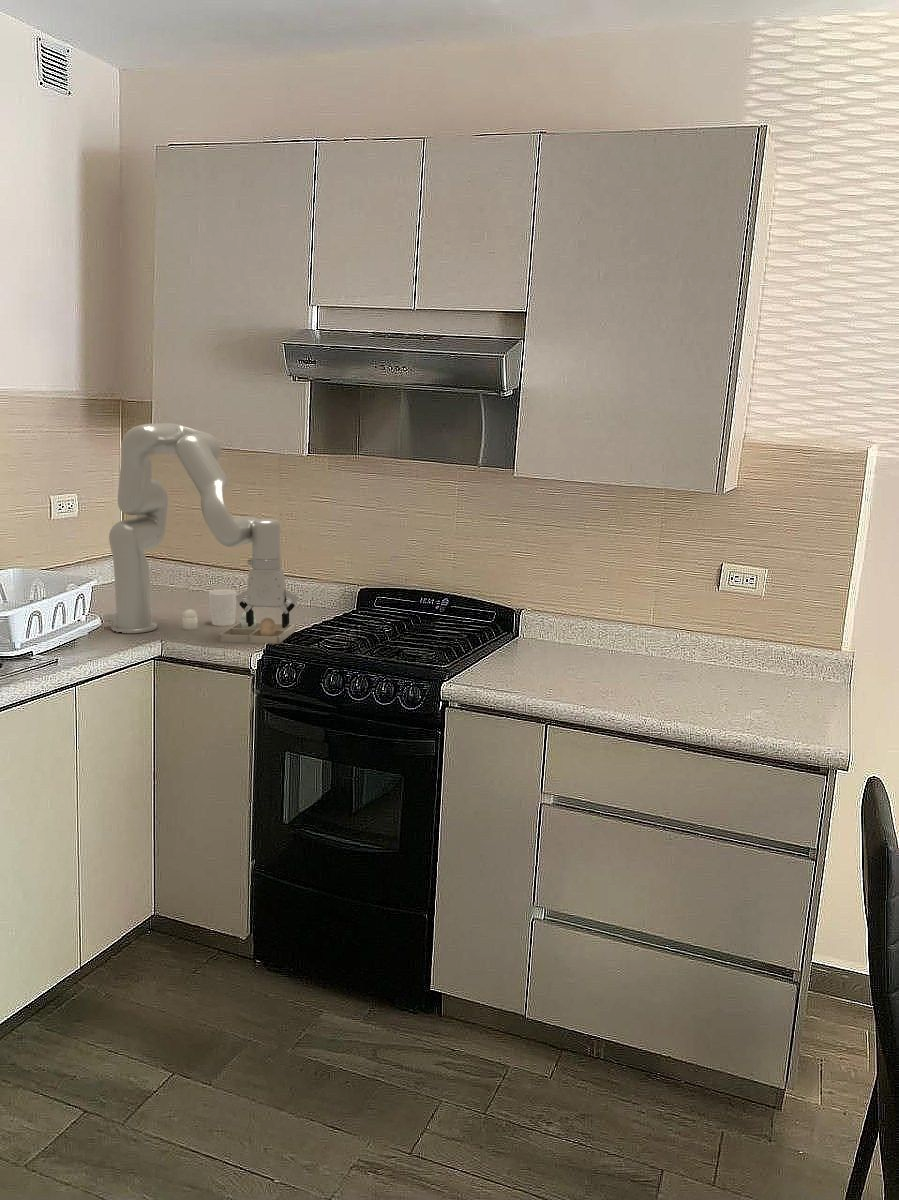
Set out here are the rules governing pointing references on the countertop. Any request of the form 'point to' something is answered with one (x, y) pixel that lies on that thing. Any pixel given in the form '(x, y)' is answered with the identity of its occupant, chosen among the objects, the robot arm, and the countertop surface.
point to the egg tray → (256, 634)
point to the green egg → (245, 625)
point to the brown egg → (267, 627)
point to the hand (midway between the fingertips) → (267, 626)
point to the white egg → (190, 620)
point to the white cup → (222, 607)
